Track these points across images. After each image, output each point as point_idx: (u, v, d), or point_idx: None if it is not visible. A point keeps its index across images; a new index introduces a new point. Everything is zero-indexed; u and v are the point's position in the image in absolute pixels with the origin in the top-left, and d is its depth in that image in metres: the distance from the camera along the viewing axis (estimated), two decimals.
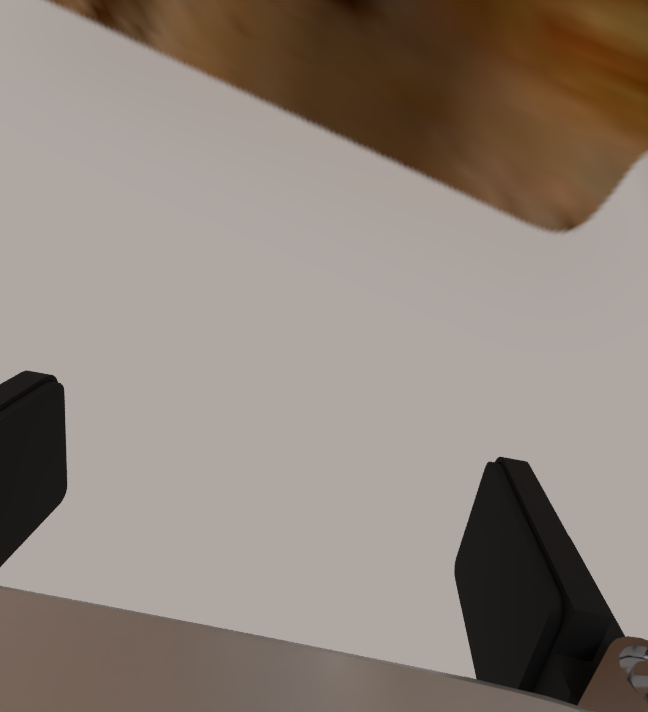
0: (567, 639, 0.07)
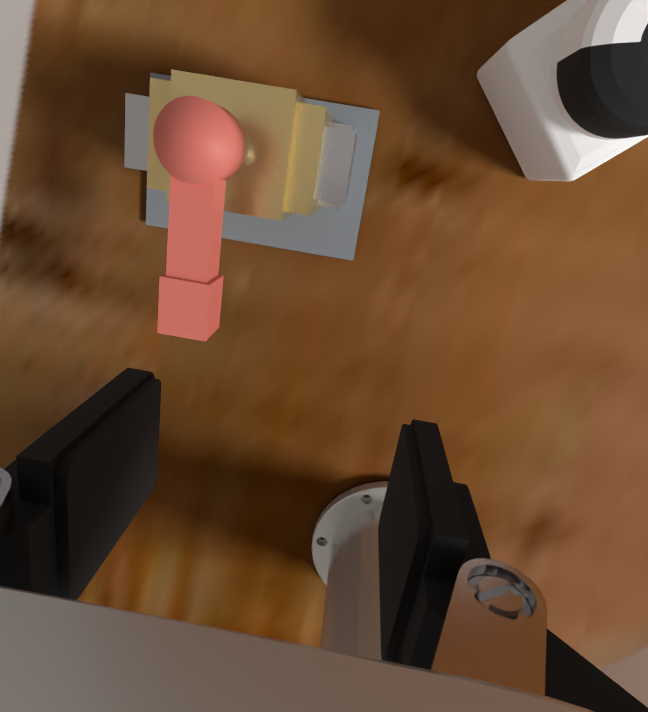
0: (433, 562, 0.08)
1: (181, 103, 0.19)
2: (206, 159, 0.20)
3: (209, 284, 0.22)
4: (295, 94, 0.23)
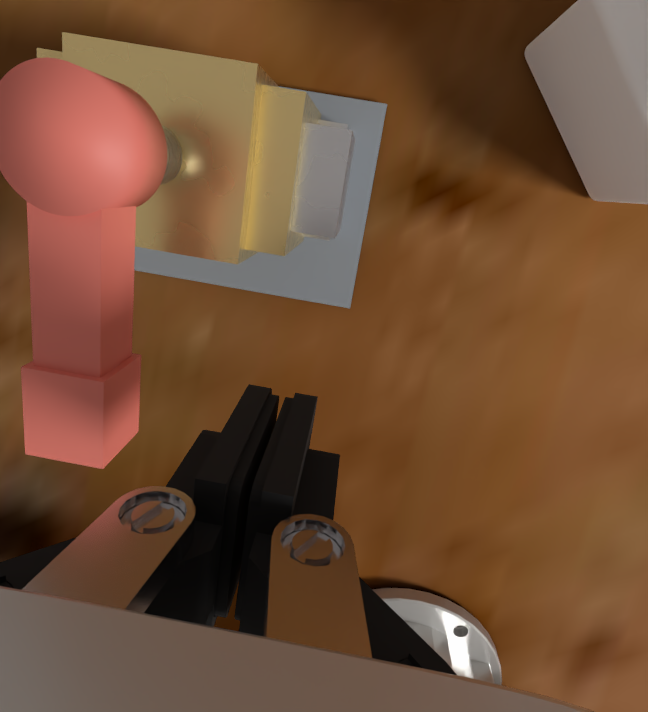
0: (264, 518, 0.08)
1: (32, 72, 0.10)
2: (83, 172, 0.11)
3: (104, 380, 0.13)
4: (256, 70, 0.15)
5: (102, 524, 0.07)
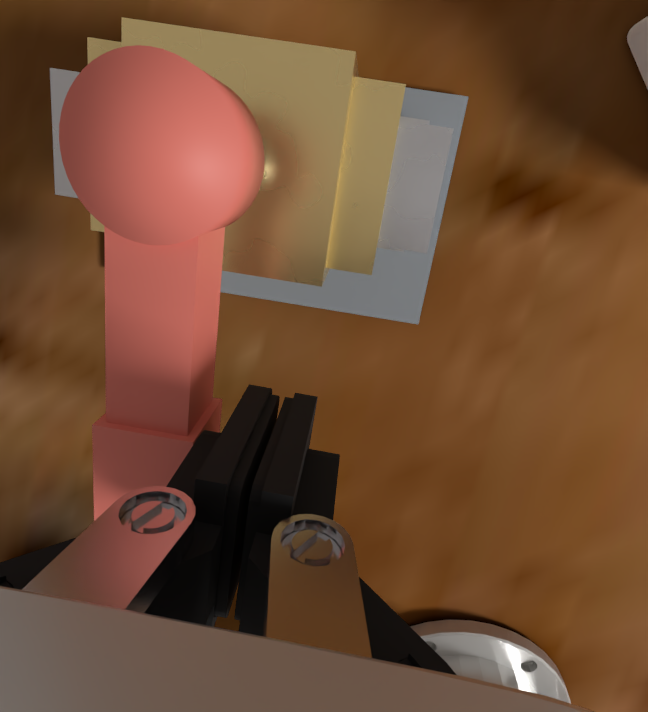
0: (264, 518, 0.08)
1: (118, 64, 0.08)
2: (180, 191, 0.09)
3: (193, 439, 0.11)
4: (353, 60, 0.12)
5: (102, 524, 0.07)
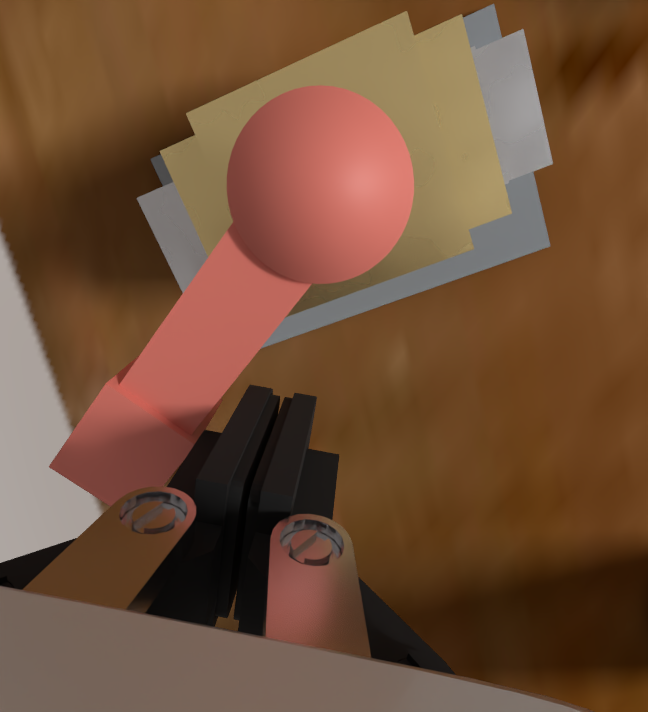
0: (263, 519, 0.08)
1: (342, 104, 0.08)
2: (325, 240, 0.09)
3: (195, 440, 0.11)
4: (407, 20, 0.12)
5: (103, 524, 0.07)
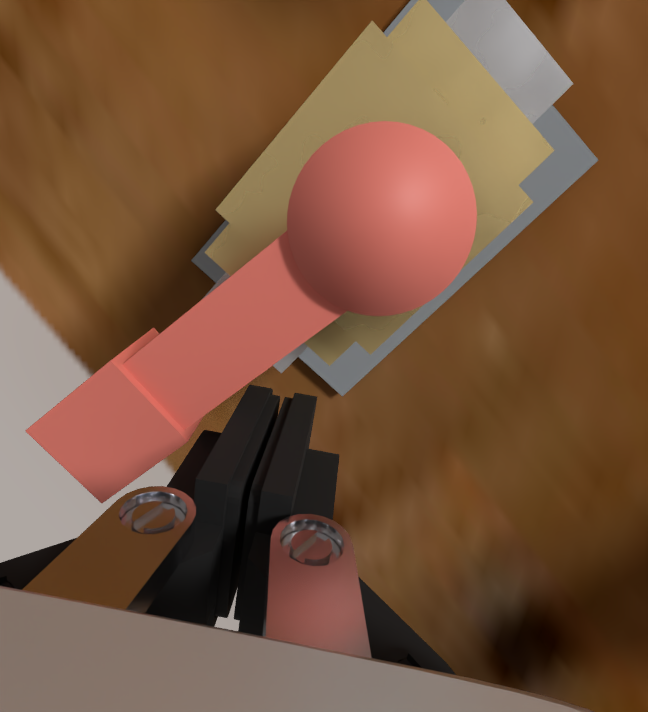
0: (263, 519, 0.08)
1: (426, 148, 0.08)
2: (373, 273, 0.09)
3: (188, 436, 0.10)
4: (376, 28, 0.12)
5: (103, 524, 0.07)
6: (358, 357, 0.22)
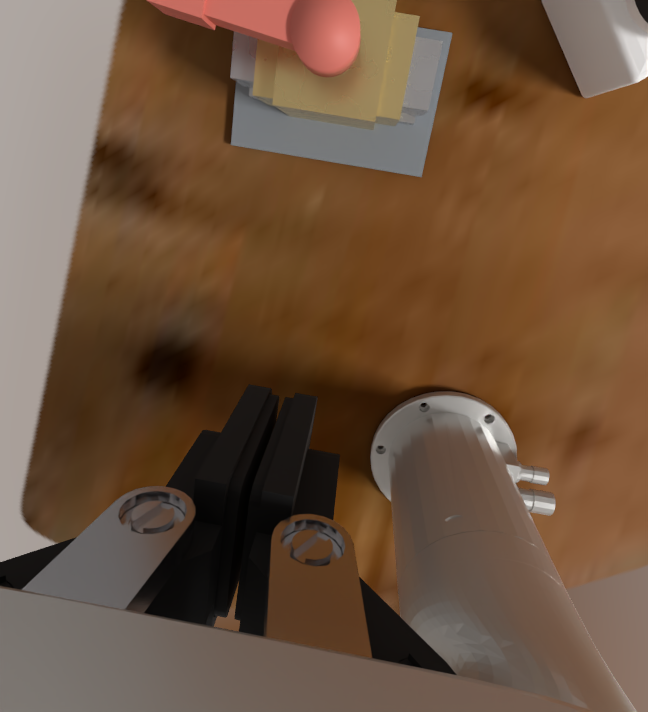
0: (264, 519, 0.08)
1: (355, 25, 0.22)
2: (309, 39, 0.23)
3: (202, 17, 0.23)
4: (395, 2, 0.26)
5: (102, 524, 0.07)
6: (257, 137, 0.36)
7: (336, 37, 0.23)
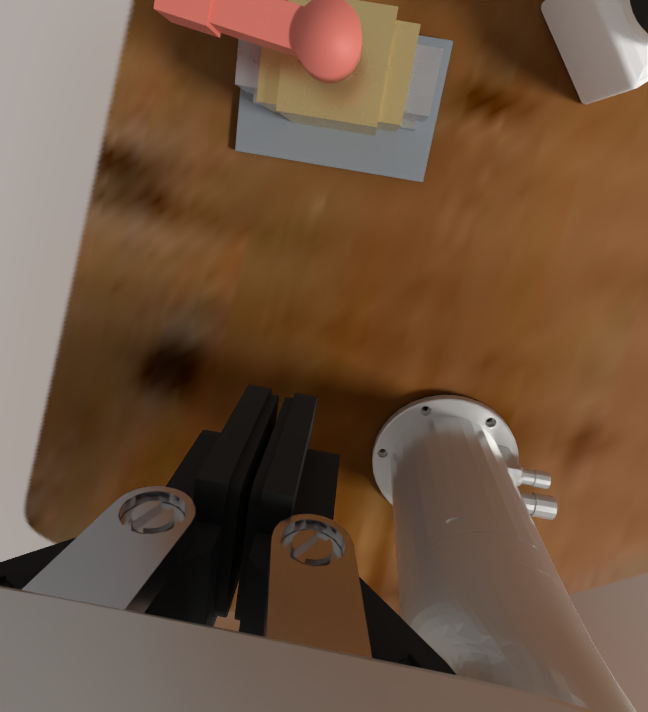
0: (264, 518, 0.08)
1: (356, 32, 0.23)
2: (311, 46, 0.23)
3: (207, 25, 0.23)
4: (397, 10, 0.27)
5: (102, 524, 0.07)
6: (261, 142, 0.36)
7: (338, 44, 0.23)
